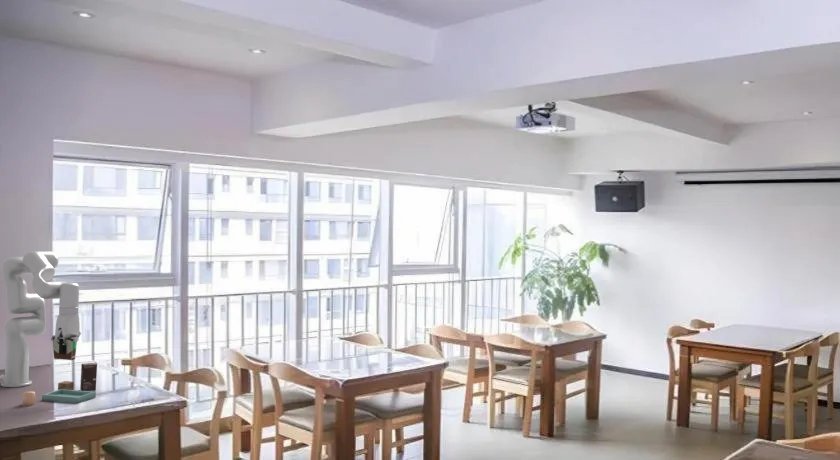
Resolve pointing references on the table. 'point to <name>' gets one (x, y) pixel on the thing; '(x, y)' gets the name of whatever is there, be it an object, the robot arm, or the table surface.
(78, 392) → the tray
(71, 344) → the food container
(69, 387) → the walnut block
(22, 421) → the table surface
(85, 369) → the box
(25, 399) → the beige rounded cube
